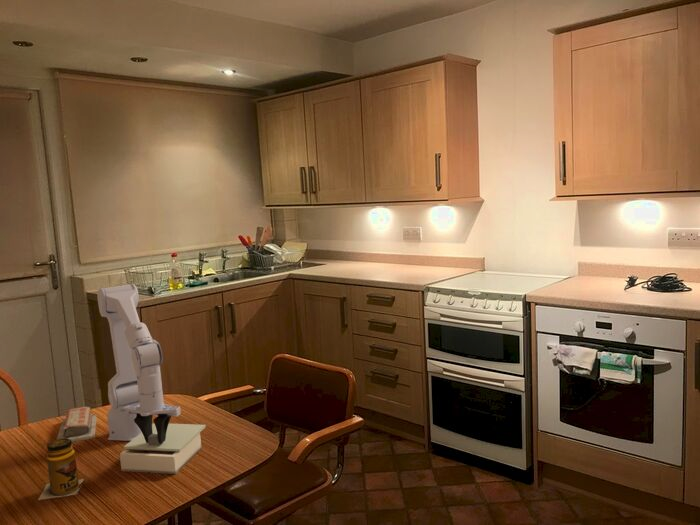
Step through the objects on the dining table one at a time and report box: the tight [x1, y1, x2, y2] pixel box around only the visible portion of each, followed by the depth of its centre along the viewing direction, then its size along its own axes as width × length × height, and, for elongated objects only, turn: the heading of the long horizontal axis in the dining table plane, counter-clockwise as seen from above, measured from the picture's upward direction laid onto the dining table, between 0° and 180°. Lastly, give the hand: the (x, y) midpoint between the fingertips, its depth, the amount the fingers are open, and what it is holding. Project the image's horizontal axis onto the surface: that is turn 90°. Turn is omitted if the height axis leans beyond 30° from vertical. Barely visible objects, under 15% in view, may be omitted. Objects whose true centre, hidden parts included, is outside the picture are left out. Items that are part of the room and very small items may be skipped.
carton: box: [119, 432, 202, 475], centre depth 151 cm, size 15×14×4 cm
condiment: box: [37, 438, 84, 501], centre depth 137 cm, size 7×8×12 cm
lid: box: [123, 422, 207, 451], centre depth 153 cm, size 16×15×3 cm
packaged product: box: [56, 405, 98, 443], centre depth 173 cm, size 18×5×10 cm
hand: (155, 441), depth 148 cm, fingers closed on lid, 3 cm apart
